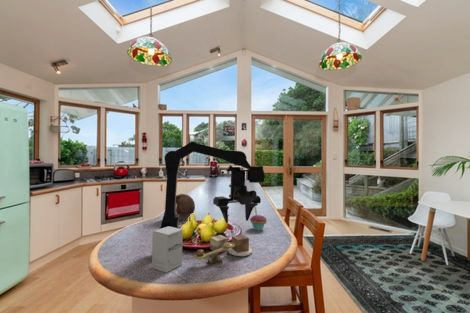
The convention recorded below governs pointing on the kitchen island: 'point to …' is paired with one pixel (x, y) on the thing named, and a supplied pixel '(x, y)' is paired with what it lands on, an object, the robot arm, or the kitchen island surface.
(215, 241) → the maple block
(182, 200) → the wooden sphere
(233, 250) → the dish
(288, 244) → the kitchen island surface
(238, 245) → the walnut block
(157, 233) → the supplement box
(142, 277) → the kitchen island surface
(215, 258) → the balance
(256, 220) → the cupcake
